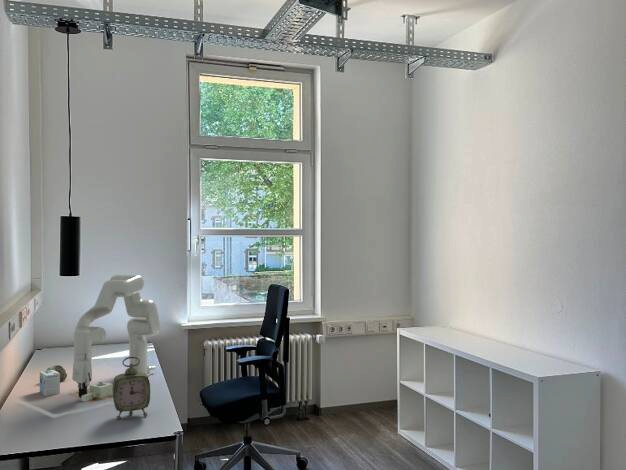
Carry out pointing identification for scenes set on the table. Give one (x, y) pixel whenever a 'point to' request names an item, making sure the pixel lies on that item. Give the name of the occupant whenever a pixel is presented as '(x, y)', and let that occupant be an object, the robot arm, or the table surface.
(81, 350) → the robot arm
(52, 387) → the light bulb box
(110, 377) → the table surface
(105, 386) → the hollow frame with stem
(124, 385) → the tabletop clock
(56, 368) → the carved stone stamp
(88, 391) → the board
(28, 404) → the table surface
